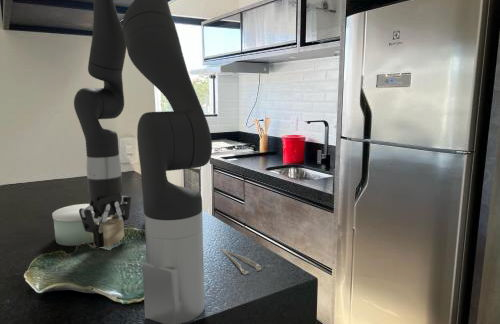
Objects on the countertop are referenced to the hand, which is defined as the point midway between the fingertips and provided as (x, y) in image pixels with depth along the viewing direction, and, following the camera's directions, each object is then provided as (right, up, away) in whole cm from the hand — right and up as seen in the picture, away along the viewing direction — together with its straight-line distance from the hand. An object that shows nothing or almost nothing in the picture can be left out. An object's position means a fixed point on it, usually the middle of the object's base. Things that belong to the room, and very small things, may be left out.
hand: (109, 242), depth 90 cm
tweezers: (+30, -3, -7) cm, 31 cm away
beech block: (0, -1, 0) cm, 1 cm away
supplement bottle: (+7, +2, +16) cm, 18 cm away
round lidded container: (-9, 0, +6) cm, 11 cm away
